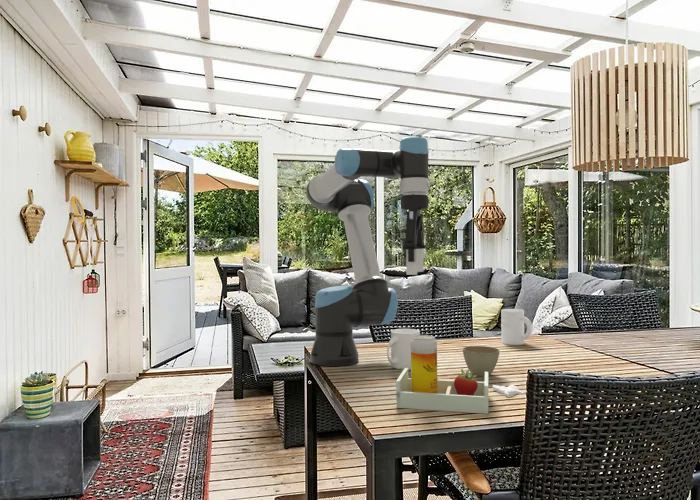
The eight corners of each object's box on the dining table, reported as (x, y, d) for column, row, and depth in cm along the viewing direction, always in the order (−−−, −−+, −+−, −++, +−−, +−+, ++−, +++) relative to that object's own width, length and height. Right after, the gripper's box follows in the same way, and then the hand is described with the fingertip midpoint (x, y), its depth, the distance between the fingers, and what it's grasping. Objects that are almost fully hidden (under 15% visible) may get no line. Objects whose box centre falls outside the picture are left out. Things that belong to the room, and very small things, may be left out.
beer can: (436, 405, 121) (436, 339, 121) (410, 404, 122) (409, 339, 122) (438, 397, 127) (437, 335, 127) (412, 396, 128) (411, 334, 128)
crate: (396, 407, 120) (396, 381, 120) (405, 391, 132) (405, 367, 132) (488, 413, 115) (488, 386, 115) (488, 396, 127) (488, 371, 127)
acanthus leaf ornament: (508, 400, 127) (508, 392, 127) (488, 393, 133) (488, 385, 133) (531, 395, 130) (531, 387, 130) (511, 388, 136) (511, 381, 136)
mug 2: (525, 347, 186) (525, 313, 186) (496, 342, 195) (496, 310, 195) (538, 344, 191) (538, 311, 191) (509, 340, 200) (509, 308, 200)
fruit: (476, 407, 119) (476, 372, 119) (452, 405, 121) (452, 370, 121) (478, 401, 124) (478, 367, 124) (455, 399, 126) (455, 365, 125)
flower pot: (474, 380, 142) (474, 353, 142) (456, 372, 152) (456, 347, 152) (507, 377, 145) (506, 351, 145) (487, 369, 155) (487, 344, 155)
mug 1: (377, 368, 158) (376, 332, 158) (405, 362, 165) (404, 327, 165) (397, 373, 151) (397, 335, 151) (426, 366, 159) (425, 330, 159)
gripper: (422, 190, 131) (423, 276, 132) (433, 198, 156) (433, 270, 156) (392, 191, 133) (393, 275, 134) (407, 198, 158) (408, 270, 158)
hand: (415, 273), depth 145 cm, fingers open, 13 cm apart
